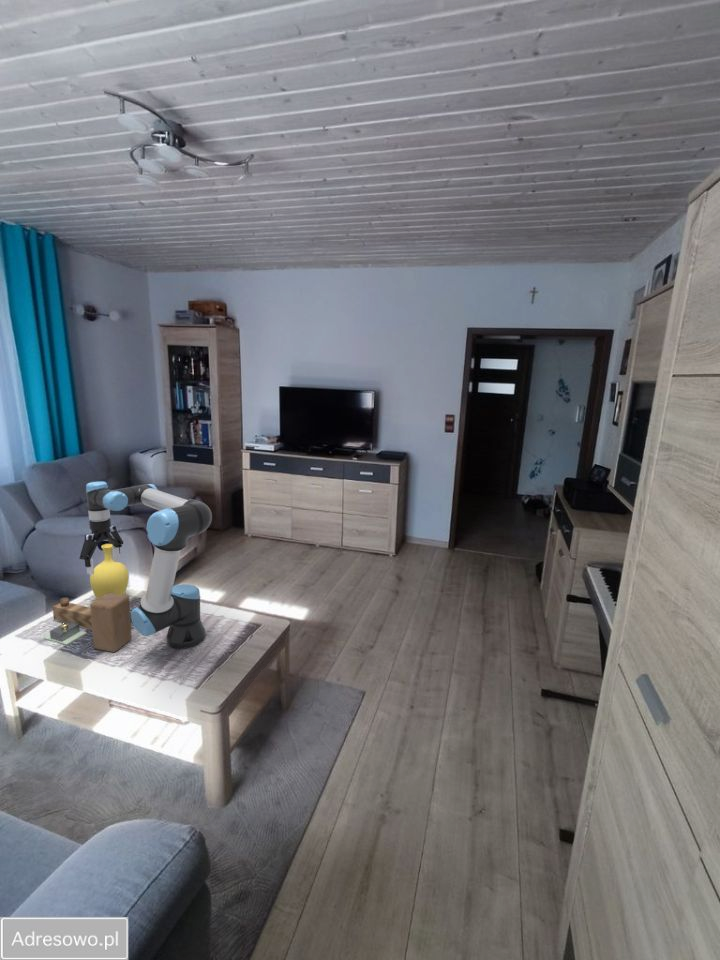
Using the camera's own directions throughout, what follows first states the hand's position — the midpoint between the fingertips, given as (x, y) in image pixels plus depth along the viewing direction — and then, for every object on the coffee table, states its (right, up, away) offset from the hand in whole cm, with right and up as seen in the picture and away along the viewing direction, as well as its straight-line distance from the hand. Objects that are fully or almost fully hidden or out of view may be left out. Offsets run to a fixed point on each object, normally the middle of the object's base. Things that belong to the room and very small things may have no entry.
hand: (104, 567), depth 181 cm
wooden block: (+8, -30, -7) cm, 32 cm away
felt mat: (-14, -28, -4) cm, 31 cm away
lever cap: (-14, -27, -4) cm, 31 cm away
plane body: (-13, -26, +6) cm, 30 cm away
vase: (-13, -21, +27) cm, 37 cm away
